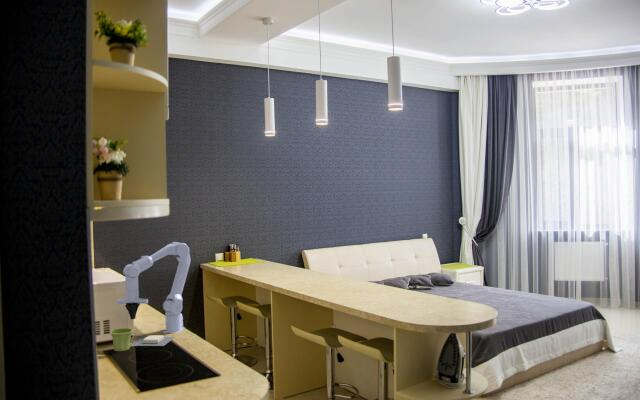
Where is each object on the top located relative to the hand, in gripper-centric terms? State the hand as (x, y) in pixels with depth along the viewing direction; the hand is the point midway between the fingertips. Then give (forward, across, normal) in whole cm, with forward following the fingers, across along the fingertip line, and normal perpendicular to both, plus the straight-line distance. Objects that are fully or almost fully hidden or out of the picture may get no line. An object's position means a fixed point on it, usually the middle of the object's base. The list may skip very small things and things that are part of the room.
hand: (133, 318), depth 254 cm
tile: (+8, +8, -4) cm, 12 cm away
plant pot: (+10, +2, -16) cm, 19 cm away
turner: (+10, +3, +4) cm, 11 cm away
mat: (+10, +11, -4) cm, 15 cm away
